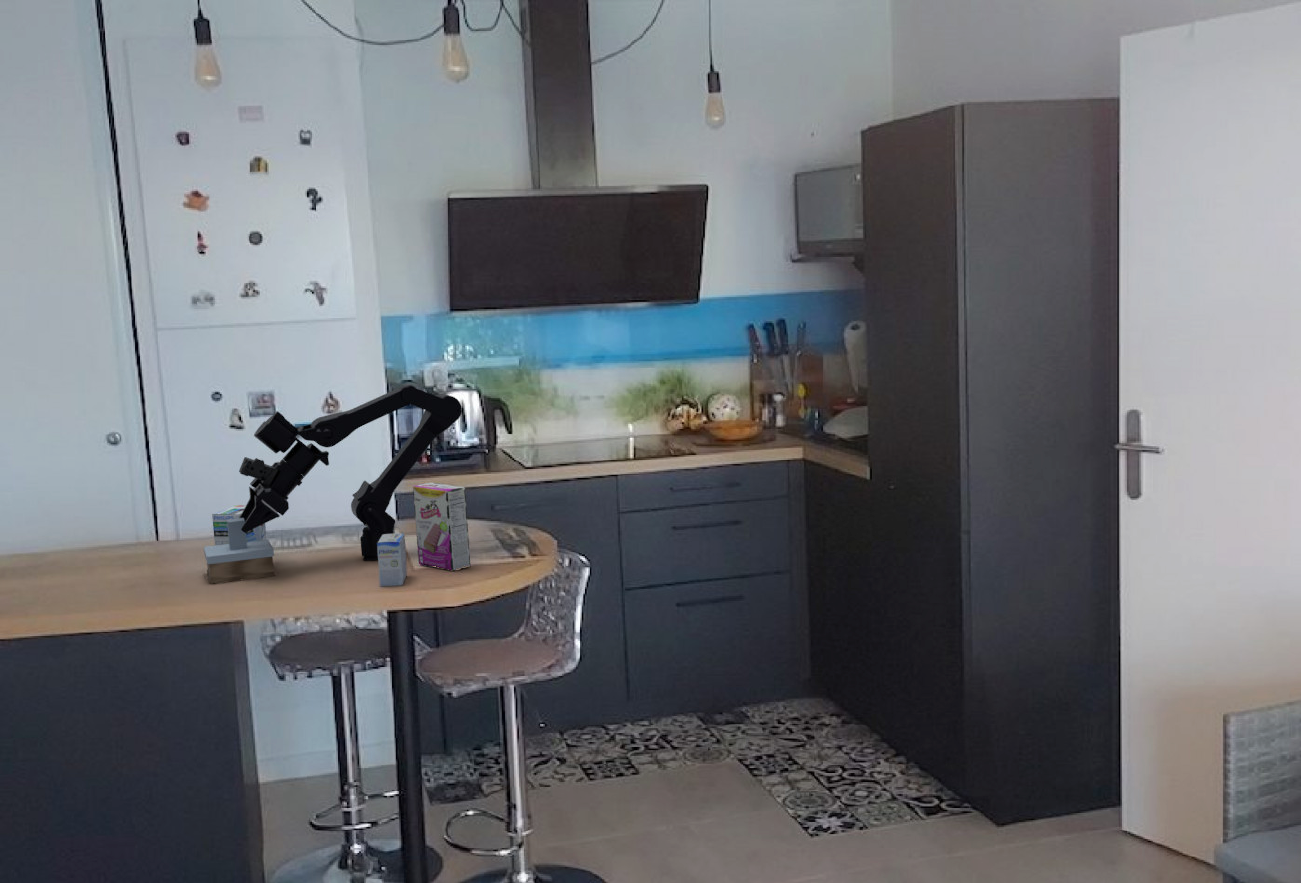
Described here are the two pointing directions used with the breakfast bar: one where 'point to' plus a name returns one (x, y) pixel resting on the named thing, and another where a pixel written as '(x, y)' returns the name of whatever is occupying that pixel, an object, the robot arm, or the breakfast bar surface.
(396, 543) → the medicine box
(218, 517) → the light bulb box
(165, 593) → the breakfast bar surface
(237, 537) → the lid
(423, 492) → the candy bar box
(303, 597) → the breakfast bar surface
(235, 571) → the walnut box
